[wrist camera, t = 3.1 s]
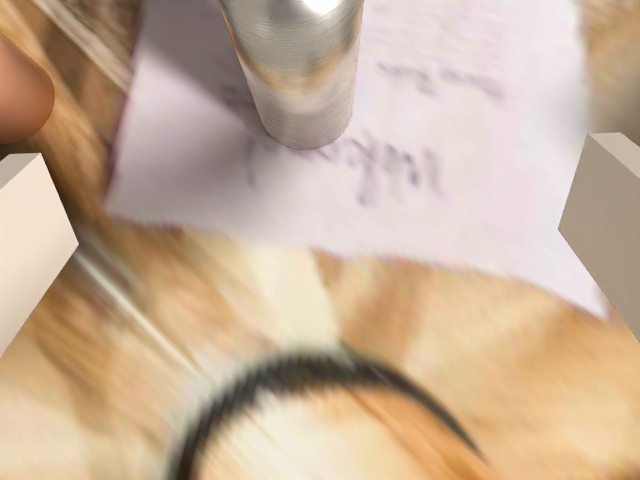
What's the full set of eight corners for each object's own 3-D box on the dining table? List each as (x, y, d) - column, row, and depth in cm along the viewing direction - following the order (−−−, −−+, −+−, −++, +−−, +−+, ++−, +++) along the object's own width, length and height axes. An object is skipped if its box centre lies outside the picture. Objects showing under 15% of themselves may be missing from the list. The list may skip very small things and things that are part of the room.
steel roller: (259, 152, 25) (201, 24, 14) (257, 63, 25) (202, -125, 15) (355, 148, 25) (373, 16, 14) (350, 58, 25) (365, -133, 14)
